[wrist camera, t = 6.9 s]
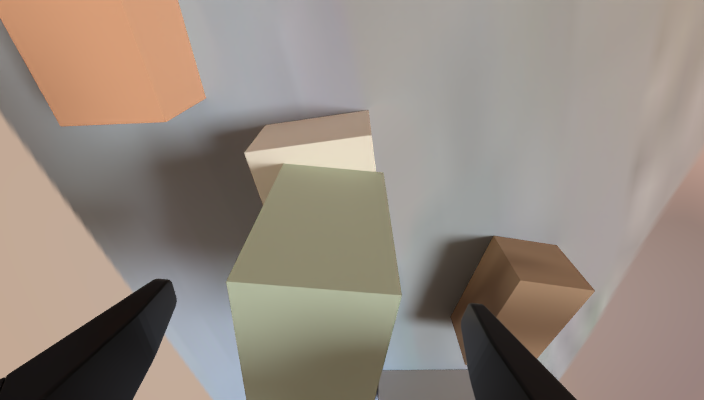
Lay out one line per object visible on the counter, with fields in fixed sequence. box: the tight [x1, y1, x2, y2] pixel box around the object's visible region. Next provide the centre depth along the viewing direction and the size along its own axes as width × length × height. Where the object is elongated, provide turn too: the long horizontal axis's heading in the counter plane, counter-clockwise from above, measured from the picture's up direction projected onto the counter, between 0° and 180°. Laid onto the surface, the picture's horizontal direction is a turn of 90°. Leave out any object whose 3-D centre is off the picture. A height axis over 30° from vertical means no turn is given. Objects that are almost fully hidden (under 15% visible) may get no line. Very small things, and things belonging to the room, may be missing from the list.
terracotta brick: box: [0, 0, 206, 126], centre depth 9 cm, size 6×3×3 cm, turn 3°
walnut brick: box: [451, 236, 595, 365], centre depth 15 cm, size 6×3×3 cm, turn 170°
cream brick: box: [244, 110, 376, 205], centre depth 13 cm, size 8×4×3 cm, turn 9°
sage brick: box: [226, 164, 402, 400], centre depth 9 cm, size 6×3×5 cm, turn 175°
